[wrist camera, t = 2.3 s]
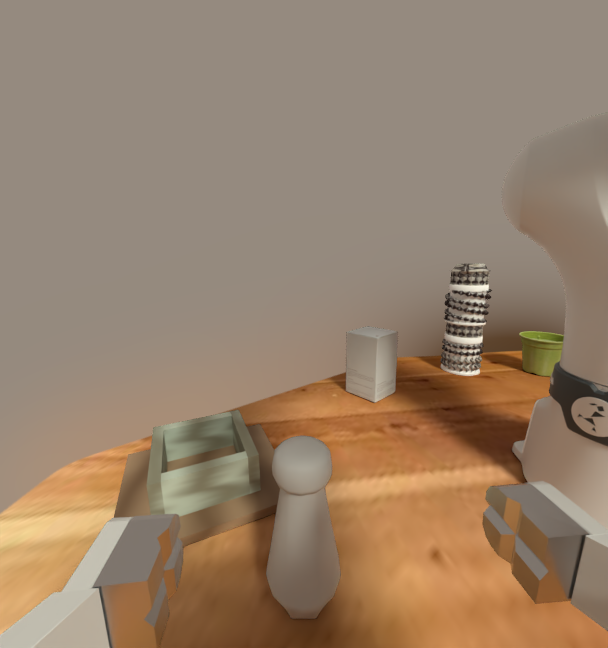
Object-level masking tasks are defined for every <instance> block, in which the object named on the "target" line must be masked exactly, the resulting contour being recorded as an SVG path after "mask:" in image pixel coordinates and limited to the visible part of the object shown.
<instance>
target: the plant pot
mask: <svg viewBox="0 0 608 648" xmlns="http://www.w3.org/2000/svg"><path fill="white" fill-rule="evenodd" d="M519 336H520V337H521V342H522V358H523V370H524V371H526V372H528V373H535V374H537V375H539V376H551V373H552V372H553V369H554V365H555V364H556V363H557V362H559V361H560V359H561V353H562V346H563V339H564V335H559V334H554V333H547V332H535V331H528V332H521V333H519Z"/></svg>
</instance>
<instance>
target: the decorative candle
mask: <svg viewBox="0 0 608 648" xmlns="http://www.w3.org/2000/svg"><path fill="white" fill-rule="evenodd" d="M451 271H452V272H451V283H450V285H449V290H450V293H448V294H446V299H447V301H445V305H446V306H447V307H449V308H447V309H446V310H445V314H447V315H445V318H444V319H445V321H446V322H447V326H446V332H445V339H443V343H444V344H445V345H443V346H442V349H444V351H443V352H442V354H441V357H442V358H441V363H442V364H441V369H442V370H444V371H446V372H448V373H452V374H455V375H462V376H474V375H478V374H479V373H480V370H479V368H480V367H481V364H480V363H479V362H481V361H482V359H481V356H480V354H482V353H483V352H482V350H481V349H480V348H482V347H483V343H482V338H483V336H482V330H483V325H485V324H486V322H487V321H486V320H485V319H483V316H484V315H487V314H488V312H487V311H486V310H485V311H484V308H488V307H489V305H488V304H486V303H485V300H486V299H490V298H491V296H490V295H489V294H486V292H487V293H489V292H491V291H492V290H490V289H488V288H489V285H488V280H489V270H488V269H487V267H486V265H484V264H458V265H456V266H455V267H454V269H453V270H451Z"/></svg>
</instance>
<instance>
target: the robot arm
mask: <svg viewBox="0 0 608 648" xmlns="http://www.w3.org/2000/svg"><path fill="white" fill-rule="evenodd" d="M502 204H503V209H504V212H505V214H506V216H507V218H508V220H509V221H510V223H511V224H512V225H513V226H514V227H515V228H516V229H517V230H518V231H520V232H521V233H523V234H524V235H526V236H528V237H529V238H531V239H532V240H533V241H534V242H536V243H537V244H538V245H539V246H540V247H541V248H542V249H543V250H545V252H546V253H547V254H548V255H549V257H550V258H551V260H552V261H553V262H554V264H555V266H556V268H557V269H558V271H559V274H560V276H561V278H562V281H563V285H564V289H565V295H566V320H565V331H564V339H563V346H562V353H561V359H560V361H559V362H557V363H556V364H555V365H554V369H553V372H552V373H551V377H550V382H551V383H550V389H549V393H550V396H548V397H545V398H542V399H540V400H537V401H536V403H535V405H534V408H533V412H532V415H531V419H530V423H529V426H528V430H527V434H526V438H525V440H523V441H517V442H515V443H514V444H513V448H512V451H513V453H514V454H515V455H516V456H517V458H518V459H519V460H520V461H521V463H522V468H523V474H524V476H525V478H526V480H527V482H528V483H519V484H509V485H499V486H490V487H489V489H488V490H487V492H486V498H485V499H486V501H487V502H488V504H489V505H490V506H489V507H488V508H487V509H486V511H485V512H484V513H483V528H484V531H485V535H486V537H487V539H488V541H489V543H490V545H491V547H492V548H493V549H494V551H495V552H496V553H497V555H498V556H500V557H501V558H503V559H504V560H506V561H507V562H509V563H510V564H511V570H512V574H513V576H514V577H515V578H516V579H517V581H518V582H519V583H520V585H521V586H522V587H523V588H524V590H525V591H526V592H527V594H528V595H529V596H530V598H531V599H532V600H533V601H534V603H535V604H540V603H551V602H562V601H571V604H572V605H574V606H575V607H576V608H578V609H579V610H580V611H582V612H583V613H584V614H586V615H587V616H588V617H590V618H591V619H592V620H594V621H595V622H596V623H598V624H599V625H600V626H602V627H603V628H604V629H605V630H607V631H608V113H603V114H599V115H595V116H591V117H588V118H585V119H583V120H580V121H577V122H575V123H572V124H569V125H566V126H564V127H561V128H559V129H556V130H554V131H551V132H549V133H546V134H544V135H541V136H539V137H537V138H534V139H532V140H531V141H530V142H529V143H528V144H527V145H526V146H525V147H524V148H523V149H522V150H521V151H520V152H519V154H518V155H517V156H516V158H515V159H514V161H513V162H512V164H511V166H510V168H509V170H508V172H507V174H506V177H505V179H504V183H503V188H502ZM180 527H181V525H180V518H179V515H178V514H162V515H145V516H134V517H120V518H112V519H111V520H109V521H108V522H107V523H106V524H105V526H104V527H103V529H102V530H101V532H100V533H99V535H98V536H97V538H96V539H95V541H94V542H93V544H92V546H91V547H90V549H89V550H88V552H87V553H86V555H85V556H84V558H83V559H82V561H81V562H80V564H79V565H78V567H77V569H76V570H75V572H74V573H73V575H72V576H71V578H70V579H69V581H68V582H67V584H66V585H65V587H64V588H63V590H62V592H55V593H52V594H51V595H50V596H49V597H47V598H46V599H45V600H44V601H42V602H41V603H40V604H39V605H37V606H36V607H35V608H34V609H32V610H31V611H30V612H29V613H27V614H26V615H25V616H24V617H22V618H21V619H20V620H19V621H17V622H16V623H15V624H14V625H12V626H11V627H10V628H8V629H7V630H6V631H5V632H3V633H2V634H1V635H0V648H159V647H160V644H161V640H162V637H163V634H164V631H165V627H166V624H167V621H168V617H169V605H168V600H169V599H170V598H171V597H172V595H173V594H174V593H175V592H176V591H177V587H178V584H179V580H180V576H181V570H182V564H183V543H182V541H181V540H180V539H179V538H178V537H177V536H178V533H179V530H180Z"/></svg>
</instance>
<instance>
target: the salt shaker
mask: <svg viewBox="0 0 608 648" xmlns="http://www.w3.org/2000/svg"><path fill="white" fill-rule="evenodd" d="M272 473H273V476H274V479H275V480H276V482H277V484H278V486H279V487H280V492H279V498H278V504H277V510H276V516H275V522H274V529H273V535H272V541H271V547H270V552H269V557H268V564H267V571H266V576H267V580H268V583H269V586H270V589H271V592H272V595H273V597H274V598H275V599H276V600H277V601H278V602H279V603H280V604H281V605H282V606H283V607H284V608H285V609H286V611H287V612H288V614H289V615H290V617H291V619H316V618H317V616H318V615H319V613H320V612H321V610H322V609H323V607H324V606H325V605H326V604H327V603H328V602H329V601H330V600H331V599H332V598H333V597H334V594H335V592H336V589H337V586H338V583H339V580H340V576H341V572H340V564H339V556H338V551H337V547H336V542H335V538H334V533H333V528H332V524H331V519H330V514H329V508H328V503H327V498H326V492H325V486H326V485H327V483H328V481H329V480H330V478H331V475H332V461H331V455H330V450H329V449H328V447H327V446H326V445H325V444H324V443H323V442H322V441H320V440H318V439H316V438H314V437H309V436H296V437H291V438H289V439H287V440H285V441H283V442H282V443H281V444H280V445H279V446H278V447H277V448H276V449H275V451H274V456H273V462H272Z"/></svg>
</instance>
